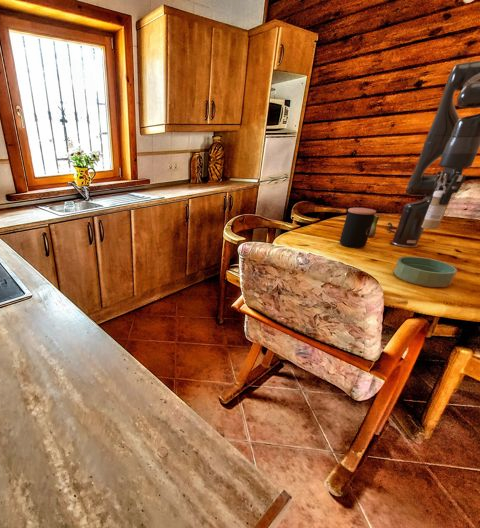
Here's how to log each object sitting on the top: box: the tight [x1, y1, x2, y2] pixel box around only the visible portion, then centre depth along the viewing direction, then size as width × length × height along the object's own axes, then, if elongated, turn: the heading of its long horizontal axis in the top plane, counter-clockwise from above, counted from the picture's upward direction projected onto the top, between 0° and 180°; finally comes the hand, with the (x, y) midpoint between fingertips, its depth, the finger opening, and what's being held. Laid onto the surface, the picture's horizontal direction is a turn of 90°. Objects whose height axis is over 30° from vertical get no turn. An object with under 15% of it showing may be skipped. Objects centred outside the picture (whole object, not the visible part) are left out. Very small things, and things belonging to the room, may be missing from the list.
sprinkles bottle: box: [421, 190, 454, 230], centre depth 99 cm, size 5×5×14 cm
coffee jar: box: [339, 207, 377, 249], centre depth 137 cm, size 11×11×18 cm
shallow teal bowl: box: [392, 256, 458, 288], centre depth 105 cm, size 16×16×6 cm
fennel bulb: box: [368, 214, 380, 238], centre depth 148 cm, size 6×5×12 cm
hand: (439, 202), depth 98 cm, fingers closed on sprinkles bottle, 4 cm apart
